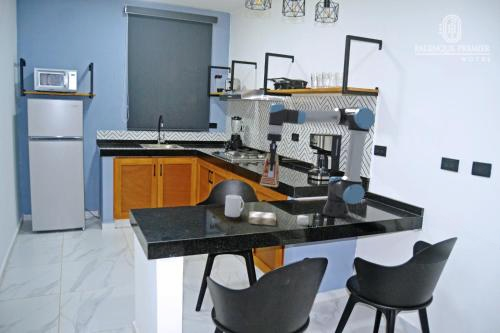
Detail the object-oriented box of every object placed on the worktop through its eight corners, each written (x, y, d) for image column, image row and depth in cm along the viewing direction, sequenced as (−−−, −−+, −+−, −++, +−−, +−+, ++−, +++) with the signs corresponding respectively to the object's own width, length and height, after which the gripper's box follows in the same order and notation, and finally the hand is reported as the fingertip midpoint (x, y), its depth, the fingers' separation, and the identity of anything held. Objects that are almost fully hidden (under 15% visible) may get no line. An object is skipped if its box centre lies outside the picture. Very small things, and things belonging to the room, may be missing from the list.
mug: (248, 215, 230) (249, 197, 228) (230, 218, 222) (232, 198, 221) (238, 212, 236) (239, 194, 235) (221, 214, 229) (222, 195, 227)
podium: (274, 218, 228) (274, 212, 228) (275, 225, 214) (276, 219, 214) (249, 216, 228) (249, 210, 228) (248, 223, 214) (249, 217, 214)
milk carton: (276, 187, 216) (280, 149, 213) (259, 184, 218) (263, 147, 215) (278, 184, 225) (282, 148, 222) (262, 182, 226) (266, 146, 224)
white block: (307, 222, 225) (308, 215, 224) (308, 225, 219) (309, 218, 219) (296, 222, 225) (297, 214, 225) (297, 225, 219) (298, 217, 219)
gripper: (267, 132, 228) (263, 172, 231) (267, 133, 207) (263, 177, 209) (280, 133, 228) (276, 173, 231) (282, 135, 207) (278, 179, 209)
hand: (270, 175), depth 220 cm, fingers closed on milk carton, 9 cm apart
